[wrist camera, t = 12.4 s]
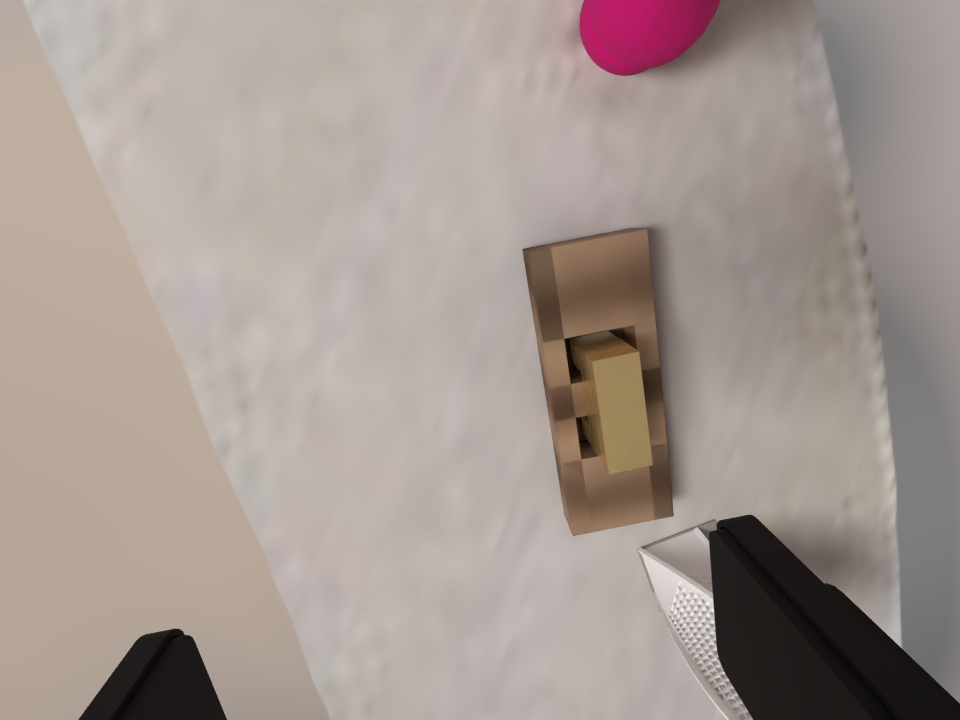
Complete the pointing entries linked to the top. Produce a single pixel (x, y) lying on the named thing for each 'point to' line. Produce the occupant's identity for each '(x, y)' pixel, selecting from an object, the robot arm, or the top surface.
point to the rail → (568, 313)
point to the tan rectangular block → (613, 401)
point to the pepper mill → (641, 31)
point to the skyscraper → (691, 609)
